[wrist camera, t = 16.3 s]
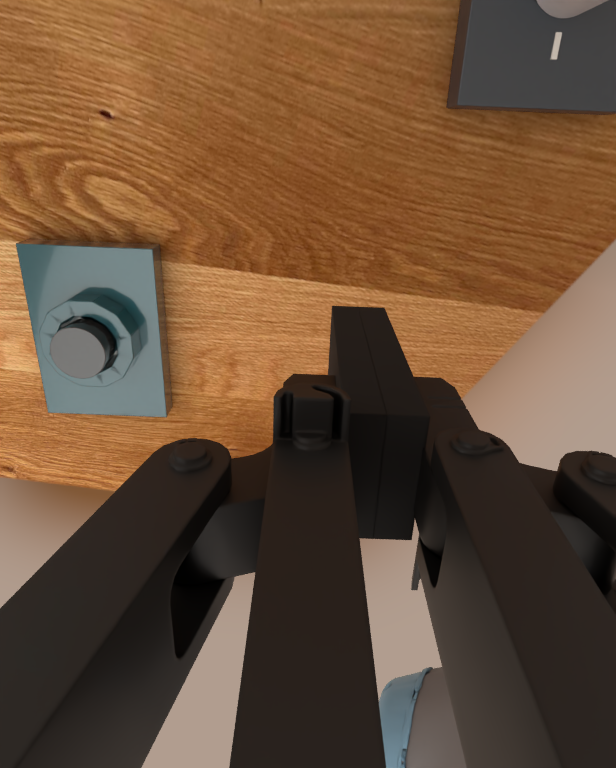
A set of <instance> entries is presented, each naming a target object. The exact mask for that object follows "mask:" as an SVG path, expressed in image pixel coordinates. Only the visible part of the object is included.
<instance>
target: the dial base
mask: <svg viewBox="0 0 616 768" xmlns="http://www.w3.org/2000/svg"><path fill="white" fill-rule="evenodd" d="M447 108H453V109H476V110H500V111H523V112H547V113H571V114H594V115H609V114H616V0H608V1H606V2H604V3H602V4H600V5H598V6H596V7H594V8H592V9H589V10H587V11H585V12H583V13H581V14H579V15H577V16H574V17H571V18H556V17H553V16H551V15H549V14H547V13H546V12H545V11H544V10H543V9H542V8H541V7H540V6H539V4H538V3H537V1H536V0H461V2H460V10H459V17H458V25H457V32H456V40H455V47H454V55H453V63H452V70H451V78H450V85H449V93H448V101H447Z"/></svg>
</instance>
